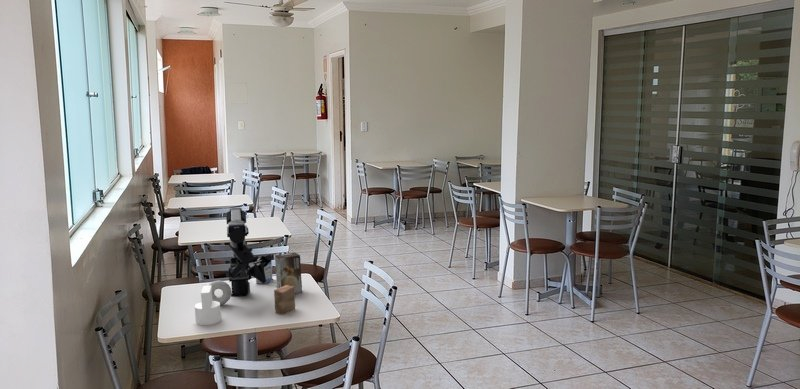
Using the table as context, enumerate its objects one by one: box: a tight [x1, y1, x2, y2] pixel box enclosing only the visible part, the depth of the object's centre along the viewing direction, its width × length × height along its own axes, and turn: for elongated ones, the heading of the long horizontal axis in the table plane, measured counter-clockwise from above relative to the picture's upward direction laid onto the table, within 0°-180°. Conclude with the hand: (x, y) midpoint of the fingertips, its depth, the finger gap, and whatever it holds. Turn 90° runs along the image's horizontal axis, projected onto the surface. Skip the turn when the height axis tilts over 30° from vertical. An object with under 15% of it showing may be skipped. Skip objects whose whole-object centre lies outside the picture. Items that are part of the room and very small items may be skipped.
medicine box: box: [255, 261, 273, 285], centre depth 275 cm, size 8×4×9 cm, turn 168°
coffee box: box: [274, 251, 303, 294], centre depth 259 cm, size 9×6×16 cm
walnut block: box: [273, 285, 296, 315], centre depth 236 cm, size 4×7×9 cm, turn 151°
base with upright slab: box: [194, 284, 222, 326], centre depth 227 cm, size 9×9×12 cm
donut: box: [207, 280, 232, 306], centre depth 244 cm, size 10×4×10 cm, turn 101°
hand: (264, 282), depth 240 cm, fingers closed
